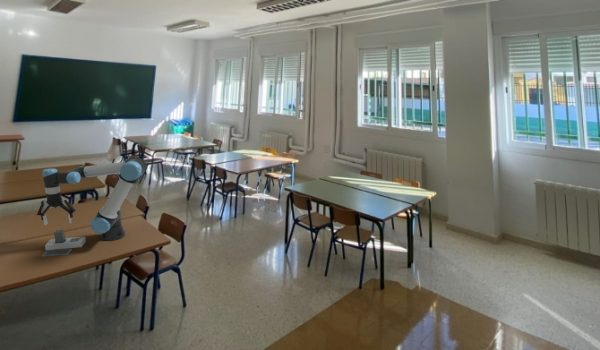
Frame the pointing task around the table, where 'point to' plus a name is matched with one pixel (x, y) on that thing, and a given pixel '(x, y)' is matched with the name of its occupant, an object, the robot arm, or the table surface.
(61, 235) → the block
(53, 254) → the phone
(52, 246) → the power strip
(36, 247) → the table surface
